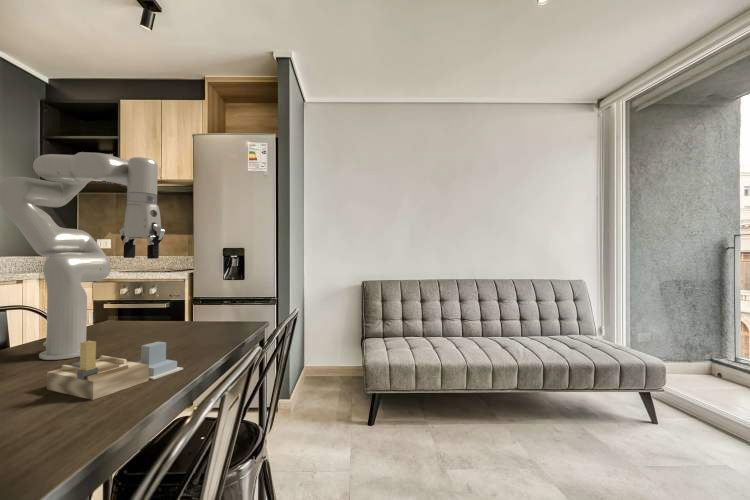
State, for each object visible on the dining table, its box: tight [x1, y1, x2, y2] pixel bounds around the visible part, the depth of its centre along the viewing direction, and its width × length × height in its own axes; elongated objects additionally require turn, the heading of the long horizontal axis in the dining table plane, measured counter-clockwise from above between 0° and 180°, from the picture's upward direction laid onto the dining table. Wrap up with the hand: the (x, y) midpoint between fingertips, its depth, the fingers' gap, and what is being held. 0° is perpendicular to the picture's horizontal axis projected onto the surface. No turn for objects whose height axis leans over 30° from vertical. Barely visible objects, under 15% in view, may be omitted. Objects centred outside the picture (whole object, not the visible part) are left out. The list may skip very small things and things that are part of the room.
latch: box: [71, 340, 98, 380], centre depth 82 cm, size 5×3×8 cm, turn 70°
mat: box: [148, 366, 184, 381], centre depth 99 cm, size 11×9×1 cm
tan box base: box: [46, 355, 149, 400], centre depth 89 cm, size 16×13×5 cm
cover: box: [135, 341, 178, 376], centre depth 99 cm, size 9×7×7 cm
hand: (140, 258), depth 109 cm, fingers open, 9 cm apart
